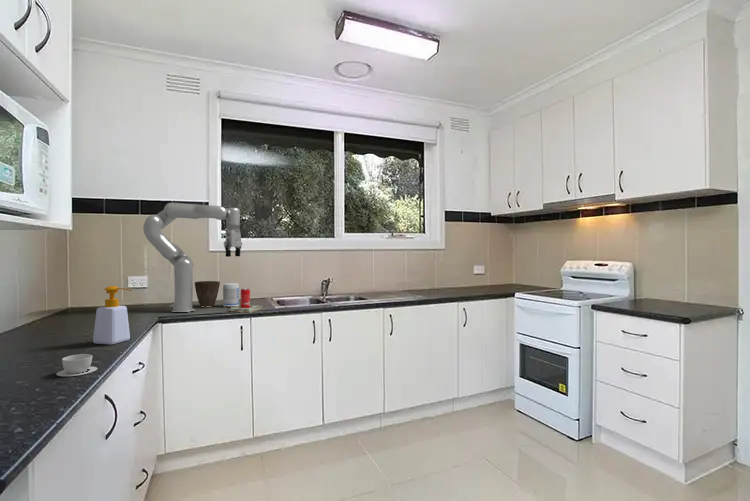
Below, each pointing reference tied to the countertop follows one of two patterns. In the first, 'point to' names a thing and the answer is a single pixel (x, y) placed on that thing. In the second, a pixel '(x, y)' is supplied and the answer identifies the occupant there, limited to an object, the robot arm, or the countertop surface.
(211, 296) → the plant pot
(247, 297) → the beverage can
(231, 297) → the supplement tub
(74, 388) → the countertop surface
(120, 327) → the soap bottle
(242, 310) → the base plate
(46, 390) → the countertop surface
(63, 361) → the teacup
